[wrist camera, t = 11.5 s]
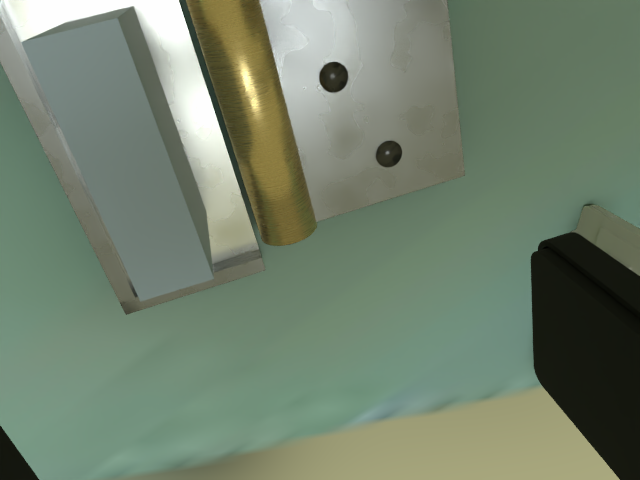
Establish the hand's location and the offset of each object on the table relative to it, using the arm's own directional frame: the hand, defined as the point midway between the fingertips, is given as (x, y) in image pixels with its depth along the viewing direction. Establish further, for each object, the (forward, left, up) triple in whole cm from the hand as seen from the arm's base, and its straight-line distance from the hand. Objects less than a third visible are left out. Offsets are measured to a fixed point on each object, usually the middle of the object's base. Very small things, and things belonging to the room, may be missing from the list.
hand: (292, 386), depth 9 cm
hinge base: (-2, -1, -20) cm, 20 cm away
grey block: (+4, -1, -19) cm, 19 cm away
